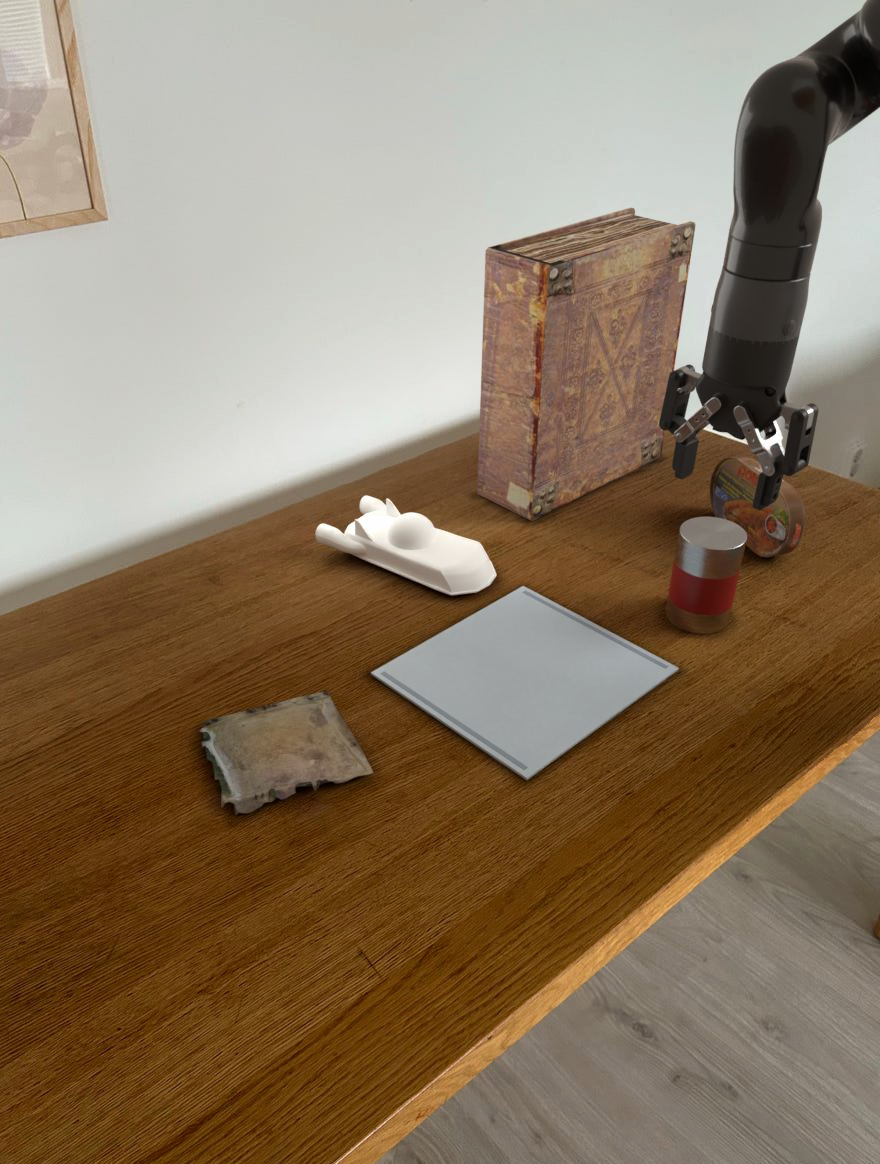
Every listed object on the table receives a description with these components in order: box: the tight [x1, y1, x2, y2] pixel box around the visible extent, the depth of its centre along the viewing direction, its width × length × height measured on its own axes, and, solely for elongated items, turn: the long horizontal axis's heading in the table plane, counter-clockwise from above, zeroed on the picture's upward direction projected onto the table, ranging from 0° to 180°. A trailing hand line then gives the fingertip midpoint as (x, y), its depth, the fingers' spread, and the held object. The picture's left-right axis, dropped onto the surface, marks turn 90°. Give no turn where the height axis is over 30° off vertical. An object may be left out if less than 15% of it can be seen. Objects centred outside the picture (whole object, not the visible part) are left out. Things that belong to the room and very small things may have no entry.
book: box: [476, 207, 696, 522], centre depth 122 cm, size 25×9×30 cm, turn 131°
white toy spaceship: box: [314, 495, 497, 596], centre depth 112 cm, size 10×20×6 cm, turn 54°
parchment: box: [198, 690, 374, 816], centre depth 89 cm, size 12×13×1 cm
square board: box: [370, 585, 680, 781], centre depth 98 cm, size 20×22×1 cm
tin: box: [709, 456, 807, 558], centre depth 115 cm, size 15×3×8 cm, turn 17°
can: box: [664, 516, 747, 635], centre depth 102 cm, size 6×6×10 cm
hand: (721, 490), depth 96 cm, fingers open, 8 cm apart
